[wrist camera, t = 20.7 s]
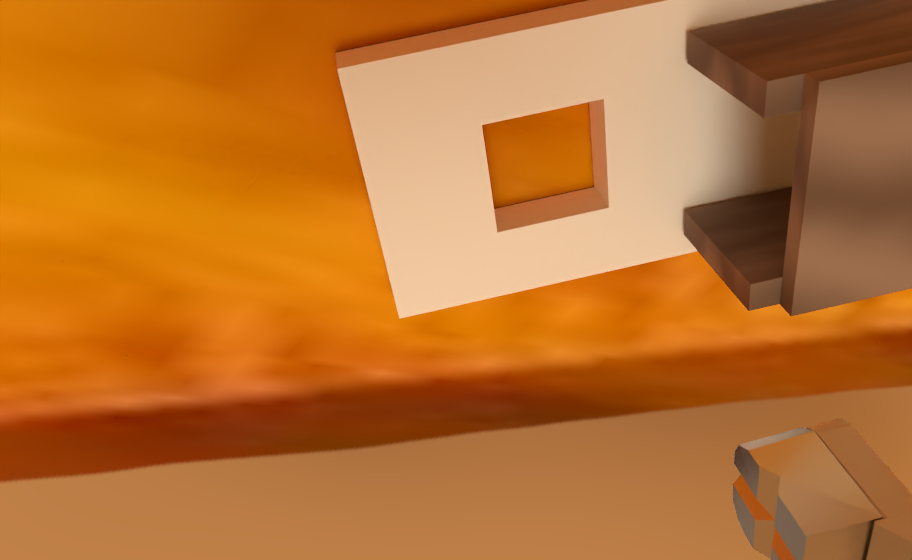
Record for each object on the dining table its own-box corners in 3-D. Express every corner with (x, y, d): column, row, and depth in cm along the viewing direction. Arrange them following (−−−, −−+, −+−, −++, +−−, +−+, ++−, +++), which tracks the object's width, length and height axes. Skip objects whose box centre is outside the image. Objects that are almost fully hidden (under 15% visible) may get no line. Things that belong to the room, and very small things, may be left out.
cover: (687, 31, 34) (780, 90, 28) (934, -21, 35) (1084, 24, 28) (684, 234, 41) (759, 323, 34) (893, 187, 41) (1009, 265, 34)
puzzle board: (335, 52, 35) (337, 69, 33) (978, -81, 37) (1018, -74, 35) (395, 293, 43) (399, 318, 41) (922, 174, 45) (952, 193, 42)
